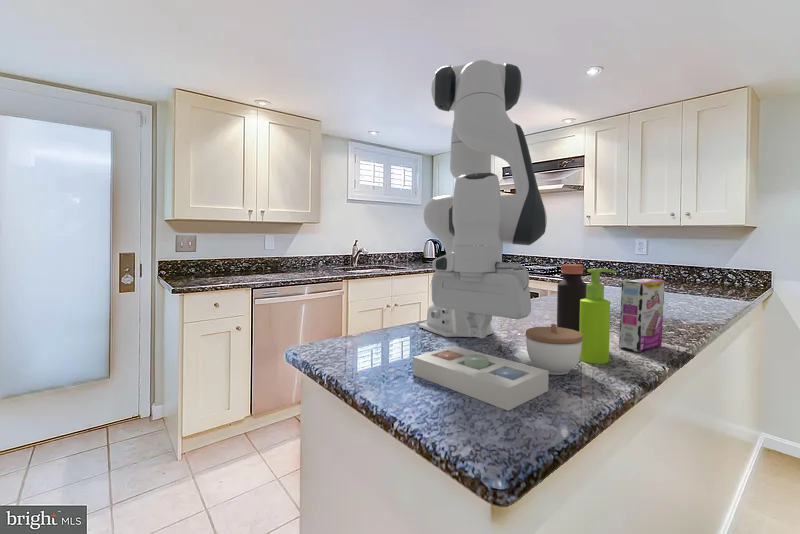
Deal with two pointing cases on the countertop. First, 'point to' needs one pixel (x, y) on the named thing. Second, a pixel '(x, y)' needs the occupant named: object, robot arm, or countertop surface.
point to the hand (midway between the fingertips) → (477, 336)
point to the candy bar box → (641, 314)
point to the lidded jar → (554, 348)
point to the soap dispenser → (595, 321)
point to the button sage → (476, 361)
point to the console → (482, 377)
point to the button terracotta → (448, 355)
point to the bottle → (570, 296)
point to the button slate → (509, 373)
